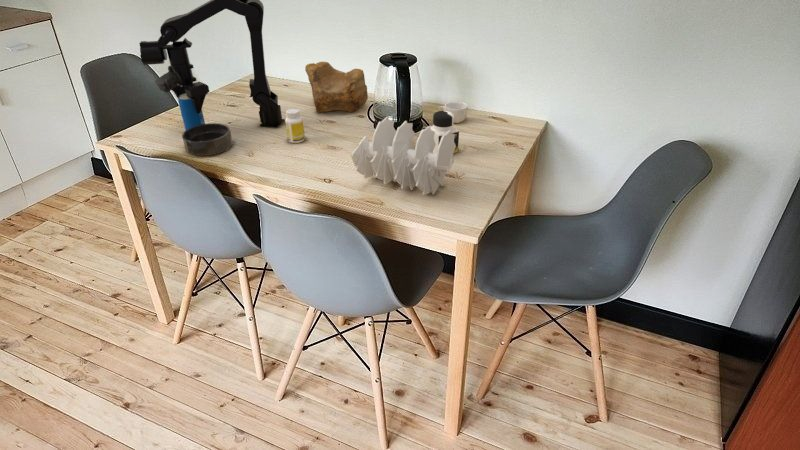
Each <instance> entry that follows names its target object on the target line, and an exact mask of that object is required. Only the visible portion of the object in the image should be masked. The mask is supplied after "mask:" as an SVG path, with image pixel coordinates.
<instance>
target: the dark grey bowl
mask: <svg viewBox="0 0 800 450" xmlns="http://www.w3.org/2000/svg"><path fill="white" fill-rule="evenodd" d="M181 137H182V141H183V145H184V149H185V152H187V153H188V154H190V155H193V156H212V155H216V154H219V153H222V152H225V151H227V150H228V149H230V148H231V147H232V146H233V144H234V143H233V142H234V139H233V136H232V130H231V128H230V126H228V125H227V124H224V123H217V122H213V123H212V122H211V123H205V124H202V125H198V126H194V127H192V128H189V129H187V130H184V131H183V133H182V134H181Z"/></svg>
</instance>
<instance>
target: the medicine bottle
mask: <svg viewBox="0 0 800 450" xmlns="http://www.w3.org/2000/svg"><path fill="white" fill-rule="evenodd" d="M453 120H454V115H453V114H452V113H451V112H449V111H444V110H440V111H439V110H438V111H436V112H434V113H433V114H432V125H430V126H431V130H432V131H434V132H435V134H434V141H435V143H436V145H435V148H434V150H433V153H436V154H437V148H438V145H439V143H440V140H441V138H442V135H445V134H446V133H447V131H448V130H451V134H455V137H454V143H455V145H456V148H455V150H454V153H453V154H455V153H458V152H459V143H460V142H459V141H460V140H459V139H460V138H459V137H460V130H459V129H457V128H456V127H455V126H454V123H453Z"/></svg>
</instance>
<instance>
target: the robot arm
mask: <svg viewBox="0 0 800 450" xmlns="http://www.w3.org/2000/svg"><path fill="white" fill-rule="evenodd" d="M264 6H265V5H264V4H263V2H262V1H261V0H208V1H206V2H205V3H203V4H200V5H199V6H197V7H195V8H194V9H192V10H190V11H188V12H185V13H183V14H178V15H175V16H172V17H169V18H167V19H165V20H164V22H162V24H161V26H160V29H159V31H160V32H159V33H160V35H161V36H159V38H158V39H157V40H150V41H147V40H141V41H140V42H139V50H140V51H139V52H140V55H139V57H140V60H141V62H142V64H143V65H144V66H149V65H163V64H165V61H169V64H170V65H168V66H167V70H168V71H167V72H166V73H164V74H162V75H161V76H160V77H158V78H157V79H155V81H154V83H155V84H156V86H157V87H158V89H159V90H160V91H162V92H164V93H170V92H173V93H174V95H175V96H176V98H177V101H178V100H179V96H180V95H182V94H185V93H186V94H187V95H186V96H187V97H189V98H190V99H192V102H193V105H194V107H195V110H196V112H197V114H199V113H201V110H202V111H203V105H204V101H205V99H206V96H207V95H208V93H210V87H209V85H207V84H206V83H205V82H202V81H197V77H195V76H194V75H193V70H192V69H194V65H193V64H192V63H191V62H190V57H189V53H188V49H189V48H192V46H193V42H192V41H190V40H188V39H187V38H186V37H184V36H185V35H186V34H188V33H189V31H190V30H191V29H192V28H193V27H195V26H197V25H199V24H201V23H203V22H204V21H206V20H207V19H210V18H212V17H213V16H215V15H217V14H219V13H220V12H222V11H224V10H228V11H230V12H233V13H235V14H237V15H240V16H243V17H244V19H245V22H246V25H247V28H248V31H249V35H250V36H249V39H250V49H251V58H252V68H253V78H249V83H248V86H249V90H250V93H249V94H250V95H249V97H250V98H251V99H252V100H253V103H254V104H256V105H258V106H259V108H258V109H259V111H258V115H259V122H260V124H259V127H261V128H262V127H263V128H275V129H276V128H277V129H278V128H279V127H280V126H281V125H282V124H283V123H284V122H285V118H283V114H282V109H281V108H282V107H281V105H280V104H279V96H278V94H276V93H275V92H273V91H272V90H271V87H270V84H269V83H270V82H269V80H268V76H267V74H266V64H265V62H266V61H265V51H264V50H265V49H264V39H263V24H264V13H265V12H264V11H265V7H264ZM183 37H184V38H183ZM181 38H183V40H180V39H181ZM170 43H171V44H170Z"/></svg>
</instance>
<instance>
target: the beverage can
mask: <svg viewBox="0 0 800 450" xmlns="http://www.w3.org/2000/svg"><path fill="white" fill-rule="evenodd" d="M186 95H187V94H186V93H185V94H182V95H180V96H179V100H178V99H177V101H178V102H177V103H178V106H179V109H180V113H181V118H182V122H183V126H184V131H186V130H187V129H189V128H192V127H194V126H198V125H202V124H206V122H205V117H204V114H203V109H202V110H201V113H199V114H197V112H196V110H195V107H194V105H193V102H192V99H190V98H189V97H187V96H186Z"/></svg>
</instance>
